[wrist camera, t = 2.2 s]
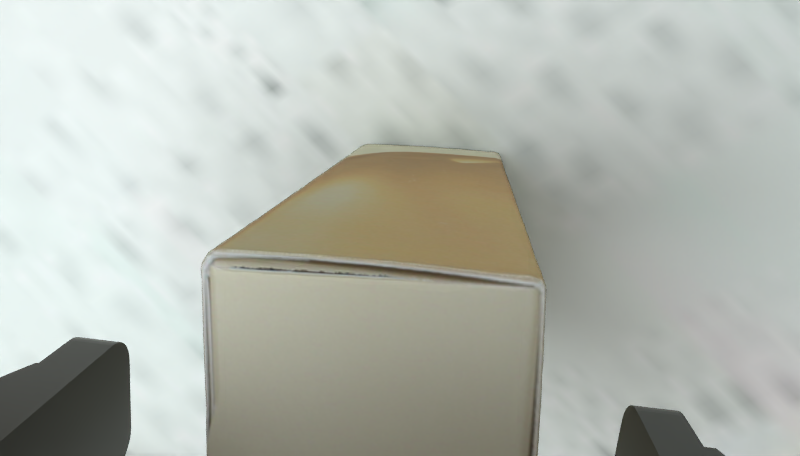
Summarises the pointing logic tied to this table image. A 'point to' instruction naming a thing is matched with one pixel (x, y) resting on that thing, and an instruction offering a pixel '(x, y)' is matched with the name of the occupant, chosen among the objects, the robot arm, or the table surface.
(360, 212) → the skincare box
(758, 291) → the table surface
